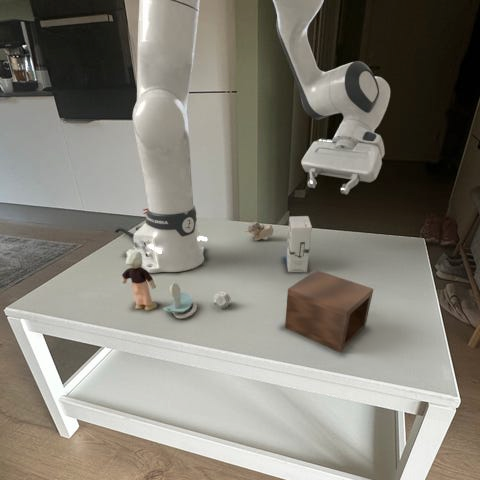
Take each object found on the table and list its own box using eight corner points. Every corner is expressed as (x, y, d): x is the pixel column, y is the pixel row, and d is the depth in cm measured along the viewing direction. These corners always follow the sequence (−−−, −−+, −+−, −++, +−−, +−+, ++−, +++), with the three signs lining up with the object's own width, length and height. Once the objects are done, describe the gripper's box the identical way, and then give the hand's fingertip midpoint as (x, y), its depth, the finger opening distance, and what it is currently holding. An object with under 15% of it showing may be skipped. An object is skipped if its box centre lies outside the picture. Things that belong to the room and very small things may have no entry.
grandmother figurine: (163, 302, 80) (155, 248, 73) (158, 311, 77) (149, 255, 70) (129, 300, 81) (118, 246, 74) (123, 310, 78) (110, 254, 70)
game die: (218, 300, 81) (217, 288, 79) (233, 303, 79) (233, 291, 77) (210, 308, 78) (209, 295, 76) (226, 311, 77) (225, 299, 75)
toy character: (251, 242, 113) (243, 224, 111) (275, 233, 110) (268, 215, 108) (249, 247, 110) (241, 229, 107) (273, 238, 107) (266, 220, 104)
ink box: (285, 258, 98) (288, 215, 92) (304, 258, 98) (308, 215, 92) (288, 272, 91) (291, 227, 85) (307, 272, 91) (312, 227, 85)
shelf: (284, 327, 72) (287, 288, 67) (312, 307, 78) (316, 269, 73) (340, 352, 65) (347, 311, 60) (365, 328, 71) (373, 288, 66)
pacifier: (202, 305, 79) (177, 300, 81) (201, 280, 75) (175, 275, 77) (186, 323, 73) (160, 317, 75) (184, 297, 70) (157, 291, 71)
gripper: (311, 130, 96) (288, 175, 96) (387, 136, 85) (361, 188, 84) (318, 146, 101) (296, 189, 101) (390, 154, 90) (366, 203, 90)
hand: (326, 189), depth 93 cm, fingers open, 8 cm apart
